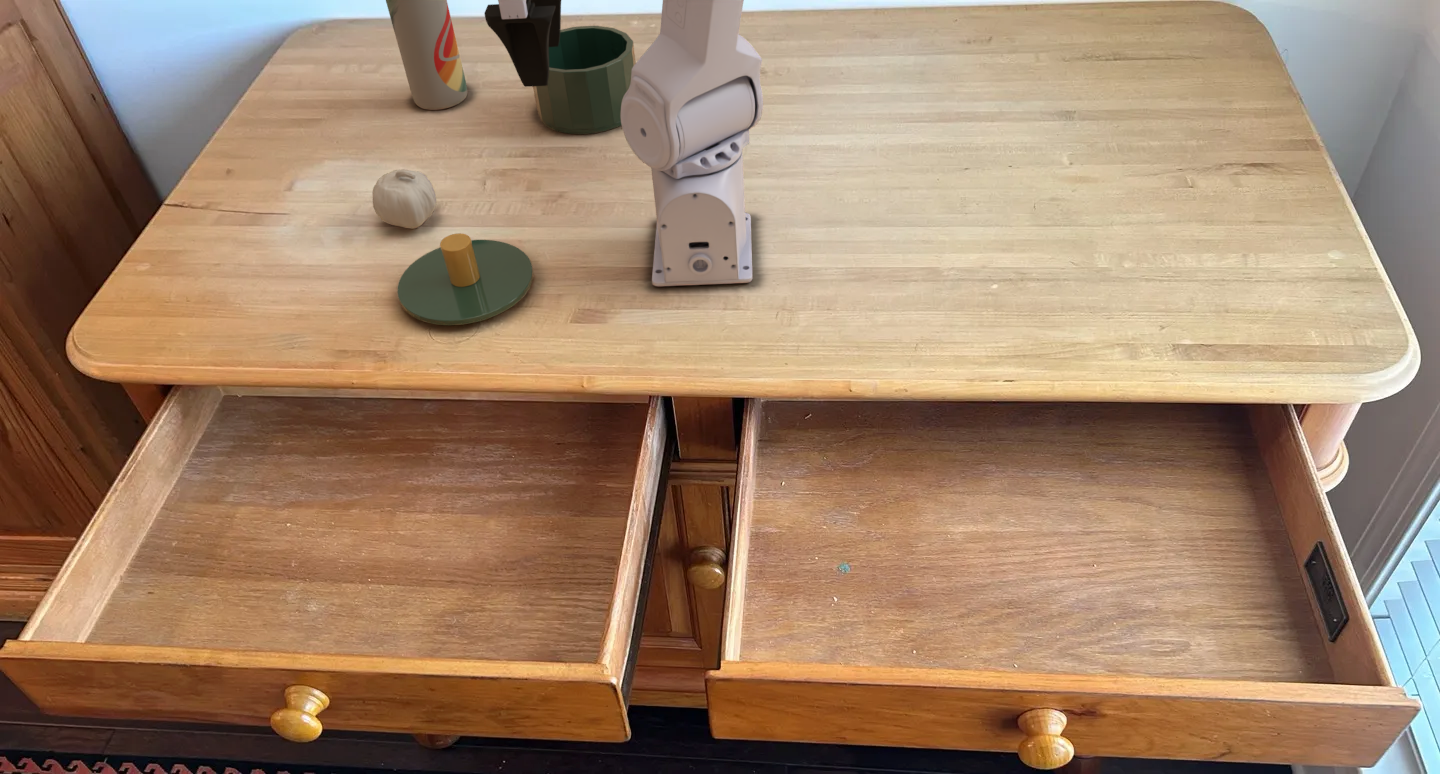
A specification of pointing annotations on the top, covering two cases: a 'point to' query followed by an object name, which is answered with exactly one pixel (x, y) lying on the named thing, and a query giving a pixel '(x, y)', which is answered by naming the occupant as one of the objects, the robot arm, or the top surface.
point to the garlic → (404, 198)
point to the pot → (586, 80)
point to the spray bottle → (429, 52)
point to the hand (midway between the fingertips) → (542, 64)
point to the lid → (465, 281)
